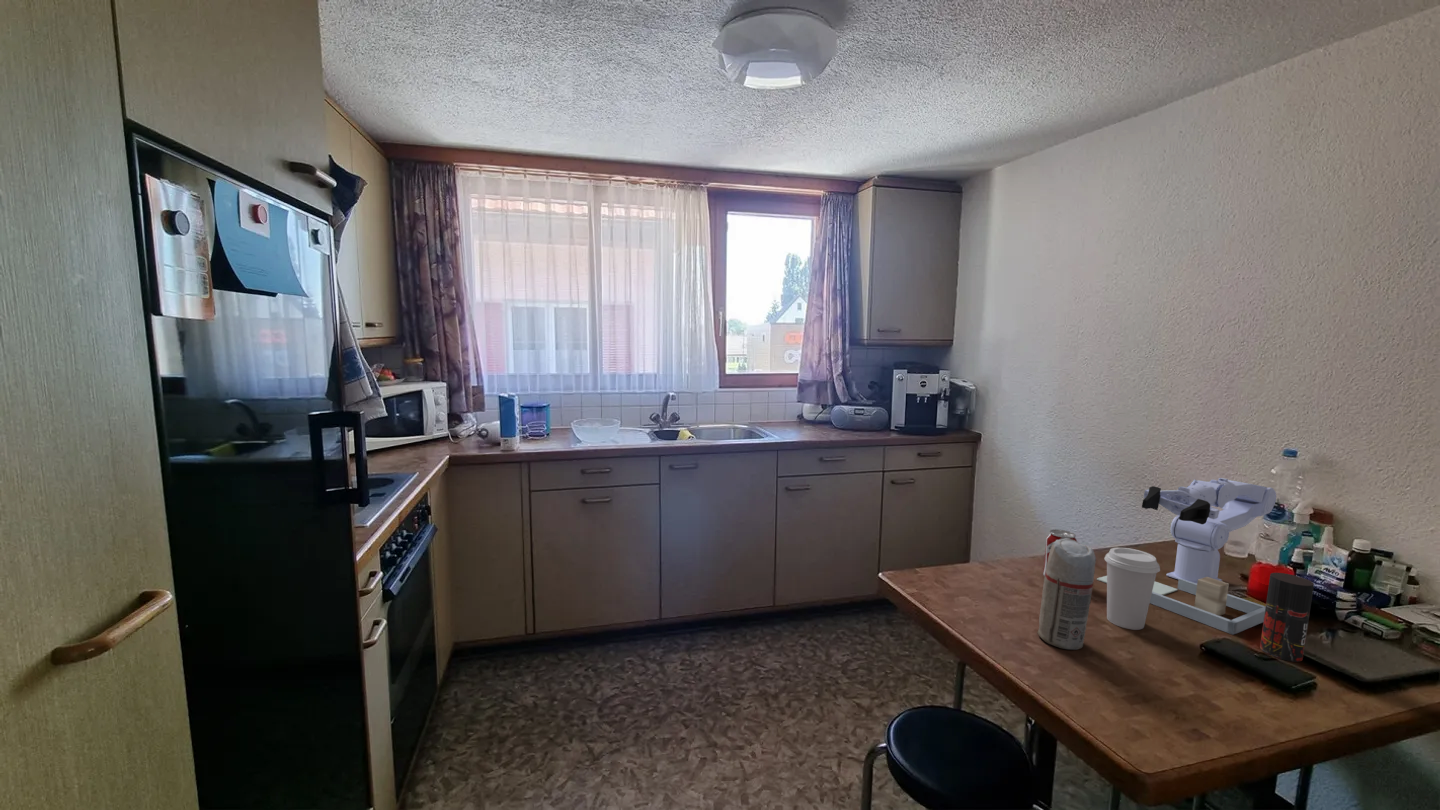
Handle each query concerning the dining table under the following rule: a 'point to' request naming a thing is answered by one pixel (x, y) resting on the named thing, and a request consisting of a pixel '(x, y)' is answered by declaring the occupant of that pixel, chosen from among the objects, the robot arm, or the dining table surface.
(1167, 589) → the pad
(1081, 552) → the spray can
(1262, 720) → the dining table surface
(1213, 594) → the block
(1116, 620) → the coffee cup
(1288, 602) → the deodorant
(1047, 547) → the soda can
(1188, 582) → the frame
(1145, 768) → the dining table surface
